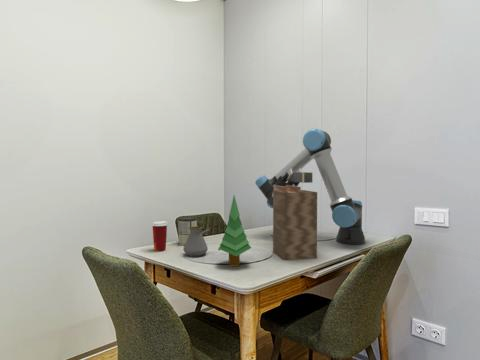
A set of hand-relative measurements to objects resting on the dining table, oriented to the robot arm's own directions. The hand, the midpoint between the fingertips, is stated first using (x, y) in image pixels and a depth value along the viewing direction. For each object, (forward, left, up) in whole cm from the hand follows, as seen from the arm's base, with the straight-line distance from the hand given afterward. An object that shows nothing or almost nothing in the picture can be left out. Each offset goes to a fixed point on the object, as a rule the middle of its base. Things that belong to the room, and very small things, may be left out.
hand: (295, 171), depth 165 cm
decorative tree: (+35, +15, -40) cm, 55 cm away
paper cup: (+65, -19, -40) cm, 78 cm away
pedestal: (+4, +7, -39) cm, 40 cm away
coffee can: (+50, -30, -40) cm, 70 cm away
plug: (0, +3, -5) cm, 6 cm away
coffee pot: (+44, -7, -40) cm, 60 cm away
